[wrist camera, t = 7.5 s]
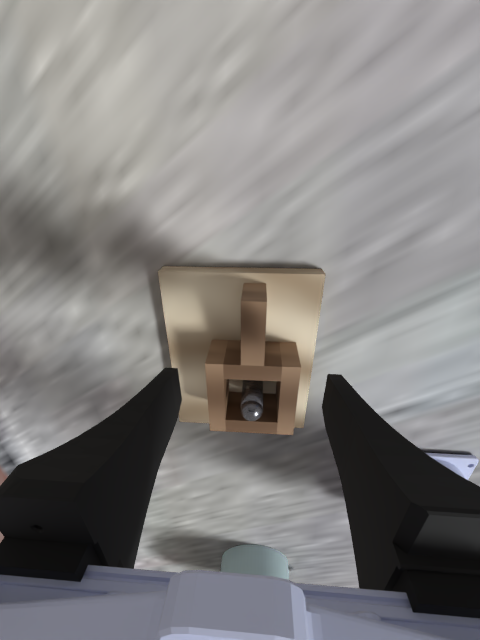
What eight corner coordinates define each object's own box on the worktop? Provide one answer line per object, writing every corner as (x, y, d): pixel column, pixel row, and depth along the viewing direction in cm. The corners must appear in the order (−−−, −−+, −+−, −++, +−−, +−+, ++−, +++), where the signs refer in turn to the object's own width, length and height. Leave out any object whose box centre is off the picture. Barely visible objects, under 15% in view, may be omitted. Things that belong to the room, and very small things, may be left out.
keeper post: (262, 389, 23) (262, 426, 19) (242, 388, 23) (239, 425, 19) (263, 373, 22) (263, 409, 19) (242, 372, 22) (239, 408, 19)
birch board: (301, 417, 25) (303, 428, 24) (183, 411, 26) (179, 421, 25) (321, 268, 19) (325, 274, 18) (163, 266, 20) (157, 271, 19)
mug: (216, 570, 41) (204, 680, 32) (228, 539, 36) (218, 656, 28) (307, 587, 41) (320, 699, 32) (329, 558, 37) (351, 679, 28)
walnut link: (289, 405, 23) (292, 435, 21) (215, 401, 24) (210, 430, 21) (302, 284, 18) (309, 302, 16) (208, 282, 19) (199, 300, 16)
